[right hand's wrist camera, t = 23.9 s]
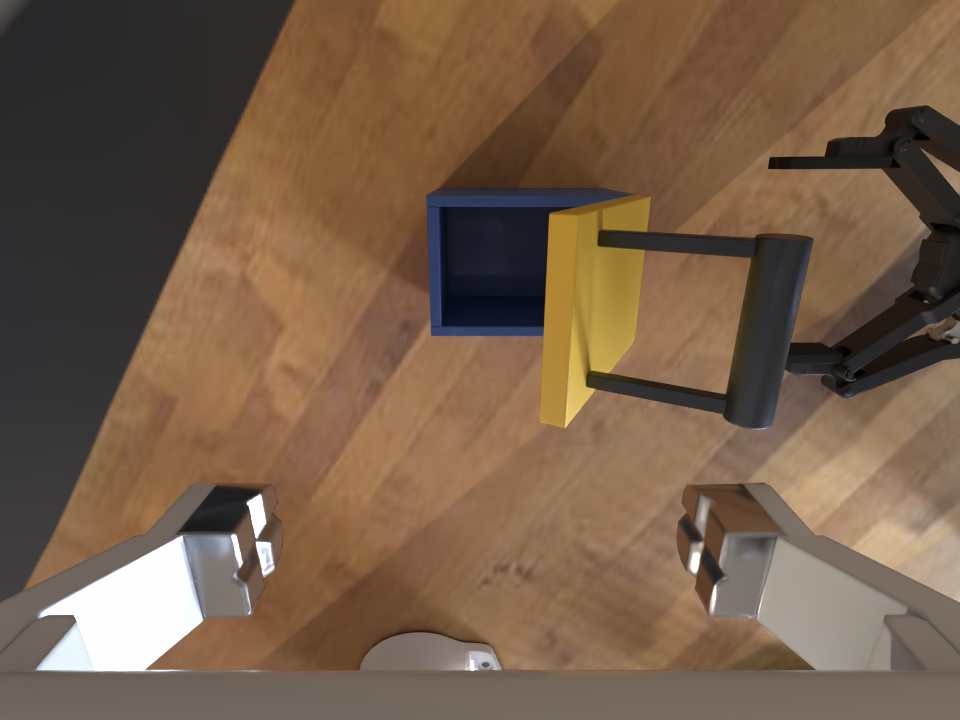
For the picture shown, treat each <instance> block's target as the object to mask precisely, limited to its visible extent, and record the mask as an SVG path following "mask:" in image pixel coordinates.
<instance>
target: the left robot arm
mask: <svg viewBox="0 0 960 720" xmlns="http://www.w3.org/2000/svg"><path fill="white" fill-rule="evenodd" d="M885 124H886V126H885V128H884V130H883V131H882V133H880V134H879V135H878V136H876V137H847V138H836V139H833V140H831V141H828V144H827V148H826V153H825V157H770V160H769V166H768V169H882V170H883V171H884V172H885V173H886V174H887V175H888V176H889V178H890V179H891V180H892V181H893V182H894V183H895V185H896V186H897V187H898V188H899V189H900V190H901V191H902V193H903V194H904V195H905V196H906V197H907V198H908V200H909V201H910V202H911V203H912V204H913V205H914V206H915V208H916V209H917V210H918V211H919V212H920V214H921V215H919V218H920V219H921V220H922V221H923V223H924V224H925V225H926V226H927V227H928V228H929V229H930V231H931V232H932V233H931V234H930V235H929V237H928V238H927V239H923V240H922V243H921V247H920V254H919V262H918V264H917V266H916V268H915V269H914V271H913V274H912V278H911V281H910V282H914V287H912V288H911V289H909V290H908V291H907V292H905V293H904V294H902V295H901V296H899V297H898V298H897V299H896V300H895V304H894V305H893V306H892V307H890V308H889V309H887V310H886V311H884V312H883V313H881V314H880V315H878V316H877V317H875V318H874V319H872V320H871V321H869V322H868V323H866V324H865V325H863V326H862V327H860V328H859V329H857V330H856V331H855V332H853V333H852V334H850V335H849V336H847V337H846V338H844V339H843V340H841V341H840V342H838V343H837V344H835V345H834V346H832V347H831V348H829V347H827V346H826V345H824V344H822V343H790V348H789V352H788V356H787V361H786V365H785V370H787V371H788V372H790V373H792V374H795V375H824V376H823V377H822V379H821V383H822V385H824V386H825V387H827V388H828V389H830V390H832V391H833V392H835V393H836V394H838V395H839V396H841V397H843V398H845V399H848V398H852V397H854V396H857V395H859V394H861V393H864V392H866V391H869V390H871V389H874V388H876V387H878V386H881V385H883V384H886V383H888V382H891V381H893V380H896V379H898V378H900V377H903V376H905V375H908V374H910V373H913V372H915V371H917V370H920V369H922V368H925V367H927V366H930V365H932V364H934V363H937V362H939V361H942V360H948V359H957V358H960V196H959V195H958V194H957V192H956V191H955V190H954V189H953V187H952V186H951V185H950V184H949V183H948V181H947V180H946V179H945V178H944V177H943V175H942V174H941V173H940V172H939V171H938V169H937V168H936V167H935V166H934V165H933V163H932V162H931V161H930V160H929V159H928V157H927V156H926V155H925V154H924V153H923V151H922V150H921V149H923V150H925V151H926V152H928V153H929V154H931V155H933V156H934V157H936V158H937V159H939V160H941V161H942V162H944V163H946V164H947V165H949V166H950V167H952V168H954V169H955V170H957V171H958V172H960V126H959V125H958V124H956V123H954V122H953V121H951V120H950V119H948V118H947V117H945V116H943V115H942V114H940V113H939V112H937V111H936V110H934V109H933V108H931V107H929V106H926V105H925V106H916V107H909V108H901V109H895V110H892V111H890V112H889V113H888V114H887V116H886V118H885ZM919 147H920V148H921V149H920V148H919ZM925 300H926V301H928V302H929V303H930V304H928V303H925V302H923V301H925ZM945 318H947V320H946V322H945V323H944V324H943V325H941V326H939V327H937V328H935V329H933V328H929V329H928V330H927V331H926V334H924V335H919V336H915V337H912V338H910V339H907V340H905V339H906V338H908V337H909V336H911V335H912V334H914V333H915V332H917V331H918V330H920V329H921V328H923V327H924V326H926V325H929V324H936V323H939V322H941V321H942V320H944V319H945ZM903 340H905V341H903Z"/></svg>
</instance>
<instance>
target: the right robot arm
mask: <svg viewBox="0 0 960 720" xmlns="http://www.w3.org/2000/svg"><path fill="white" fill-rule="evenodd" d="M278 503H279V502H278V497H277V493H276V488H275V487H274V486H273V485H272V484H244V483H221V484H220V483H196V484H192V485H190V486H189V487H188V488H187V489H186V490H185V492H184V493H183V494H182V495H181V496H180V497H179V498H178V499H177V500H176V501H175V503H174V504H173V505H172V506H171V507H170V508H169V509H168V510H167V511H166V512H165V514H164V515H163V516H162V517H161V518H160V519H159V520H158V521H157V522H156V523H155V525H154V526H153V527H152V528H151V529H150V530H149V531H148V532H147V533H146V534H145V536H134V537H132V538H130V539H128V540H126V541H124V542H122V543H120V544H118V545H116V546H114V547H112V548H110V549H108V550H106V551H104V552H102V553H100V554H98V555H96V556H94V557H92V558H90V559H88V560H86V561H83V562H81V563H79V564H77V565H75V566H73V567H71V568H69V569H67V570H65V571H63V572H61V573H59V574H57V575H55V576H53V577H51V578H49V579H47V580H45V581H43V582H41V583H39V584H37V585H35V586H33V587H31V588H29V589H27V590H25V591H23V592H21V593H19V594H16V595H14V596H12V597H10V598H8V599H6V600H4V601H2V602H0V720H960V603H959V602H957V601H955V600H953V599H951V598H949V597H947V596H945V595H943V594H941V593H939V592H937V591H935V590H933V589H931V588H929V587H927V586H925V585H923V584H921V583H919V582H917V581H915V580H913V579H911V578H909V577H907V576H905V575H903V574H901V573H899V572H897V571H895V570H893V569H891V568H889V567H886V566H884V565H882V564H880V563H878V562H876V561H874V560H872V559H870V558H868V557H866V556H864V555H862V554H860V553H858V552H856V551H854V550H852V549H850V548H848V547H846V546H844V545H842V544H840V543H838V542H836V541H834V540H832V539H830V538H828V537H826V536H815V534H814V533H813V532H812V531H811V530H810V529H809V528H808V527H807V526H806V525H805V523H804V522H803V521H802V520H801V519H800V518H799V517H798V516H797V515H796V514H795V512H794V511H793V510H792V509H791V508H790V507H789V506H788V505H787V504H786V503H785V501H784V500H783V499H782V498H781V497H780V496H779V495H778V494H777V493H776V492H775V490H774V489H773V488H772V487H771V486H770V485H768V484H765V483H738V484H704V485H686V487H685V489H684V491H683V497H682V502H681V503H682V504H683V506H684V508H685V509H686V511H687V513H686V514H685V515H684V516H683V517H682V518H681V519H680V520H679V521H678V528H677V546H678V552H679V556H680V559H681V562H682V564H683V566H684V568H685V570H686V571H687V572H689V573H690V574H692V575H693V576H694V577H696V578H697V579H696V585H695V590H696V592H697V594H698V596H699V597H700V599H701V601H702V603H703V605H704V607H705V609H706V611H707V613H708V615H709V617H733V618H757V621H758V622H759V623H760V624H762V625H763V626H764V627H765V628H766V629H768V630H769V631H770V632H771V633H772V634H774V635H775V636H776V637H777V638H778V639H780V640H781V641H782V642H783V643H784V644H786V645H787V646H788V647H789V648H790V649H792V650H793V651H794V652H795V653H796V654H798V655H799V656H800V657H801V658H802V659H804V660H805V661H806V662H807V663H808V664H810V665H811V666H812V667H813V668H814V669H816V670H502V669H501V667H500V664H499V662H498V660H497V657H496V655H495V653H494V651H493V649H492V647H490V646H489V645H486V644H482V643H464V642H460V641H457V640H454V639H451V638H449V637H446V636H443V635H439V634H433V633H424V632H415V633H405V634H400V635H396V636H393V637H390V638H388V639H386V640H384V641H382V642H380V643H378V644H377V645H376V646H374V647H373V648H372V649H371V650H370V651H369V652H368V653H367V654H366V656H365V657H364V659H363V661H362V663H361V665H360V670H145V669H146V668H147V667H148V666H149V665H151V664H152V663H153V662H154V661H155V660H157V659H158V658H159V657H160V656H161V655H163V654H164V653H165V652H166V651H167V650H169V649H170V648H171V647H172V646H173V645H175V644H176V643H177V642H178V641H179V640H181V639H182V638H183V637H184V636H185V635H187V634H188V633H189V632H190V631H191V630H193V629H194V628H195V627H196V626H197V625H199V624H200V623H201V622H202V621H203V618H226V617H251V615H252V613H253V611H254V609H255V607H256V605H257V603H258V601H259V599H260V597H261V596H262V594H263V592H264V590H265V585H264V579H263V578H264V577H266V576H267V575H268V574H270V573H271V572H273V571H274V570H275V568H276V566H277V564H278V561H279V559H280V555H281V551H282V546H283V527H282V521H281V520H280V519H279V518H278V517H277V516H276V515H275V514H274V513H273V511H274V509H275V508H276V506H277V504H278Z"/></svg>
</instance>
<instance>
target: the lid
mask: <svg viewBox="0 0 960 720" xmlns="http://www.w3.org/2000/svg"><path fill="white" fill-rule="evenodd" d="M650 201H651V196H632V195H631V196H627V197H622V198H617V199H613V200H608V201H603V202H599V203H594V204H589V205H585V206H580V207H576V208H571V209H566V210H562V211H557V212H552V213H550V214H549V232H548V253H547V275H546V296H545V317H544V339H543V360H542V381H541V402H540V422H542V423H546V424H550V425H555V426H559V427H563V428H565V427H566V426H567V425H568V424H569V422H570V421H571V420H572V419H573V417H574V416H575V415H576V414H577V412H578V411H579V410H580V409H581V407H582V406H583V405H584V404H585V402H586V401H587V400H588V399H589V397H590V396H591V395H592V394H593V392H594V391H595V390H596V389H598V390H603V391H608V392H613V393H618V394H623V395H628V396H634V397H639V398H644V399H649V400H654V401H659V402H664V403H669V404H674V405H680V406H685V407H690V408H695V409H700V410H705V411H710V412H715V413H720V414H723V417H724V418H725V419H726V420H727V421H728V422H730V423H732V424H734V425H737V426H740V427H744V428H749V429H766V428H769V427H770V426H771V425H772V423H773V419H774V414H775V410H776V405H777V401H778V396H779V392H780V388H781V383H782V379H783V374H784V370H785V365H786V361H787V356H788V352H789V348H790V343H791V339H792V334H793V330H794V325H795V321H796V316H797V312H798V307H799V303H800V299H801V294H802V290H803V285H804V281H805V276H806V272H807V267H808V263H809V258H810V254H811V250H812V245H813V241H814V240H813V238H811V237H808V236H802V235H793V234H758V235H756V236H755V238H746V237H728V236H711V235H693V234H676V233H659V232H647V228H648V219H649V210H650ZM645 250H650V251H664V252H677V253H691V254H705V255H719V256H733V257H746V258H751V262H750V268H749V273H748V278H747V284H746V289H745V295H744V300H743V305H742V311H741V316H740V322H739V327H738V332H737V338H736V343H735V349H734V354H733V359H732V365H731V370H730V376H729V381H728V386H727V392H726V394H720V393H715V392H709V391H703V390H698V389H692V388H687V387H681V386H676V385H670V384H665V383H659V382H654V381H648V380H642V379H637V378H631V377H626V376H620V375H615V374H609V372H610V371H611V370H612V368H613V367H614V366H615V365H616V363H617V362H618V361H619V360H620V358H621V357H622V356H623V355H624V353H625V352H626V351H627V350H628V348H629V347H630V346H631V345H632V343H633V342H634V341H635V334H636V325H637V316H638V308H639V299H640V290H641V281H642V272H643V263H644V254H645Z"/></svg>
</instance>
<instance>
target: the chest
mask: <svg viewBox="0 0 960 720" xmlns="http://www.w3.org/2000/svg"><path fill="white" fill-rule="evenodd" d="M631 195H632V196H637V195H634V194H629V193H623V192H618V191H613V190H608V189H603V188H438V189H437V190H435V191H433V192H431V193H430V194H428V195H427V206H428V207H427V223H428V253H429V283H430V313H431V335H432V336H544V317H545V296H546V275H547V253H548V232H549V214H550V213H552V212H557V211H562V210H566V209H571V208H576V207H580V206H585V205H589V204H594V203H599V202H603V201H608V200H613V199H617V198H622V197H627V196H631Z"/></svg>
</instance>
